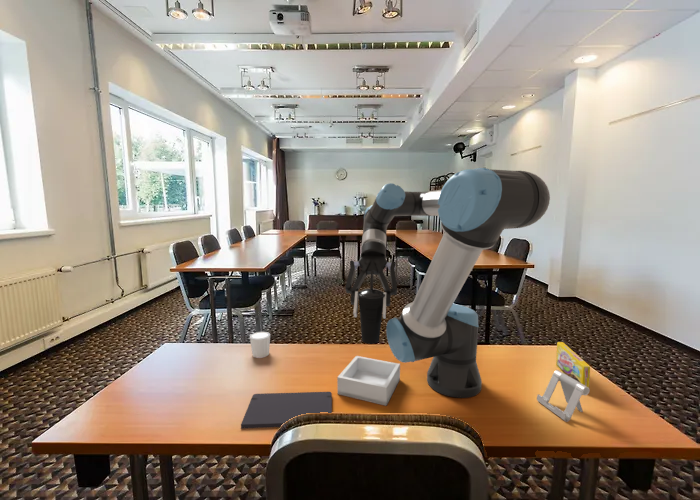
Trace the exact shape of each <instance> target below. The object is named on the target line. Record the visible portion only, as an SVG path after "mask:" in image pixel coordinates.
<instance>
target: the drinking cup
mask: <svg viewBox="0 0 700 500" xmlns="http://www.w3.org/2000/svg"><path fill="white" fill-rule="evenodd" d="M369 284H370V287H369V288H364V289H362V290H358V296H359V299H358V308H359V319H360V332H361V333H360V334H361V342H363V343H365V344H368V345H372V344H373V345H374V344H377V343H379V341H380V335H381V326H382V319H383V298H384V297H385V294H383V293H384V292H385V291H382V290H381V289H377V288H374V274H373V270H371V274H370V283H369Z"/></svg>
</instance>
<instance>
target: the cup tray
mask: <svg viewBox="0 0 700 500" xmlns="http://www.w3.org/2000/svg"><path fill="white" fill-rule="evenodd" d="M336 378H337V382H336V383H337V395H339V396H344V397H347V398H352V399H356V400H360V401H364V402H369V403H372V404H377V405H381V406H386V407H387V406H388V404H389V402H390V400H391V398H392V396H393V393H394V392H395V390H396V388H397V386H398V385H399V382H400V380H401V363H397V362H393V361H386V360H381V359H376V358H370V357H365V356H360V355H355V357H353V358H352V360H351V361H350V362H349V363H348V364H347V366H345V368H344V369H343V370H342V371H341V372H340V374H338V375H337V377H336Z"/></svg>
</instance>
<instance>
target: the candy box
mask: <svg viewBox="0 0 700 500" xmlns="http://www.w3.org/2000/svg"><path fill="white" fill-rule="evenodd" d="M555 360H556V361H555V362H556V363H555V366H556V367H557V368H558V369H559V371H561V372H562V373H564V374H566V375H568V376H569V377H571V378H573V379H574V380H576V381H578V382H580V383H581V384H583V385H585V386H586V387H588V388H589V389H590V377H591V376H590V375H591V366H590V365H589V364H588V363H587V362H586V361H585V360H584V359H583V358H582V357H580V355H578V354H577V353H576V352H575V351H573V349H571V348H570V347H569V346H568V345H567V344H565V342H562V341H558V342H557V344H556V359H555ZM588 394H590V392H589V393H588ZM588 394H587V395H588Z"/></svg>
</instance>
